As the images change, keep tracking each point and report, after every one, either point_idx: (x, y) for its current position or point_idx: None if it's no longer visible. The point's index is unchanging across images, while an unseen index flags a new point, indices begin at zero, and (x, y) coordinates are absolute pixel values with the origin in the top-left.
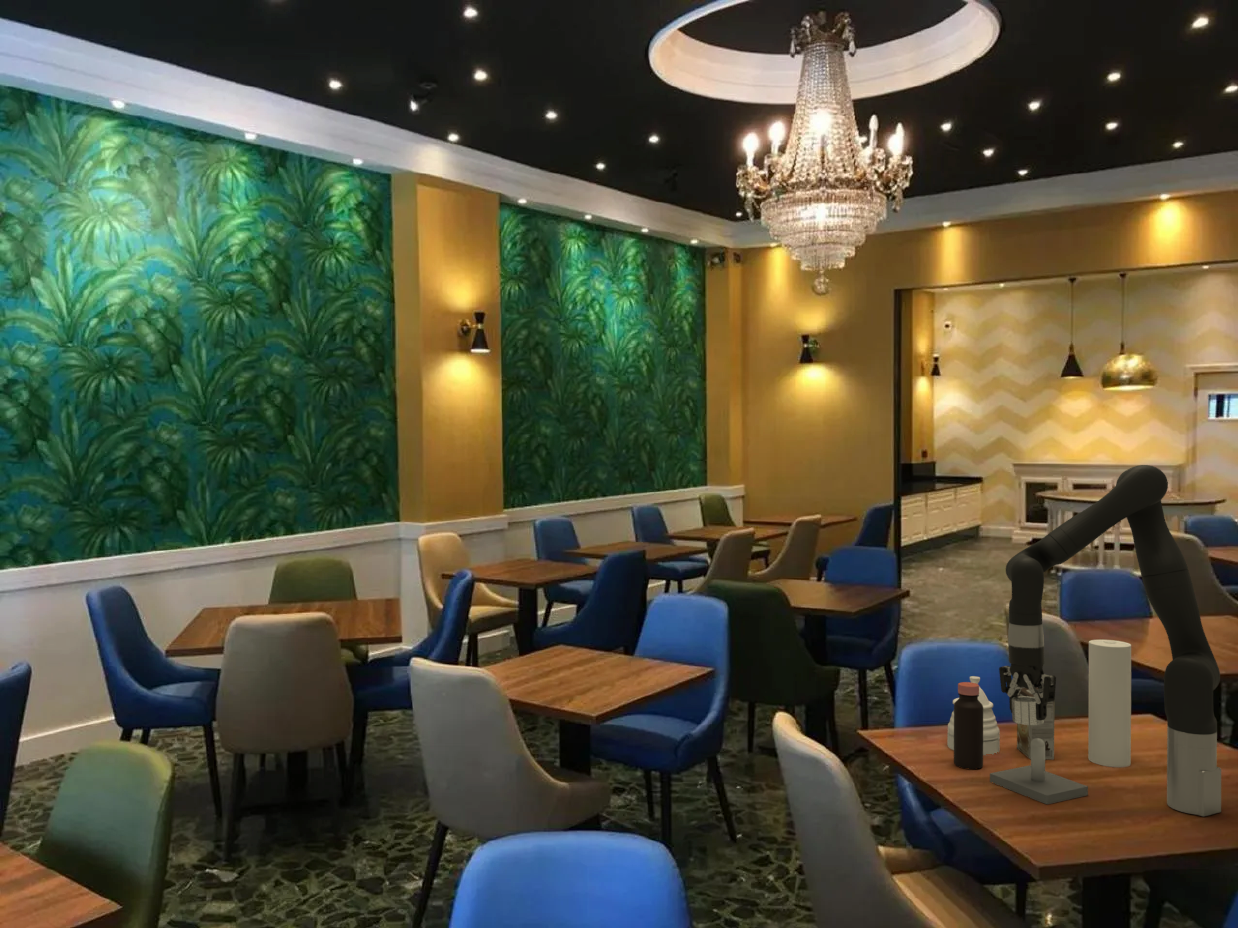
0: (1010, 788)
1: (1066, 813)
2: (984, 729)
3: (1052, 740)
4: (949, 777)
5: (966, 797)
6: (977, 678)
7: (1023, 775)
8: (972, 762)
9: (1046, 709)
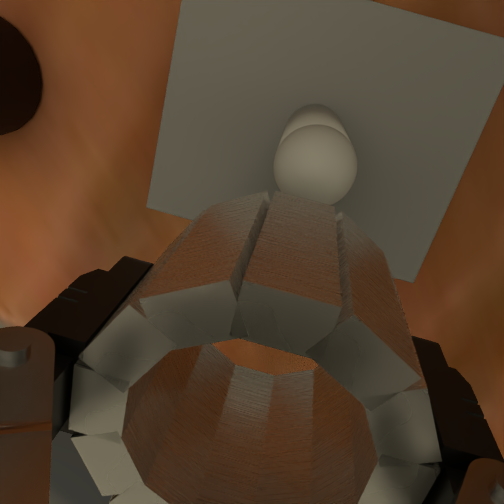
0: None
1: (488, 300)
2: None
3: None
4: (51, 258)
5: None
6: None
7: (246, 129)
8: (17, 120)
9: (489, 431)
